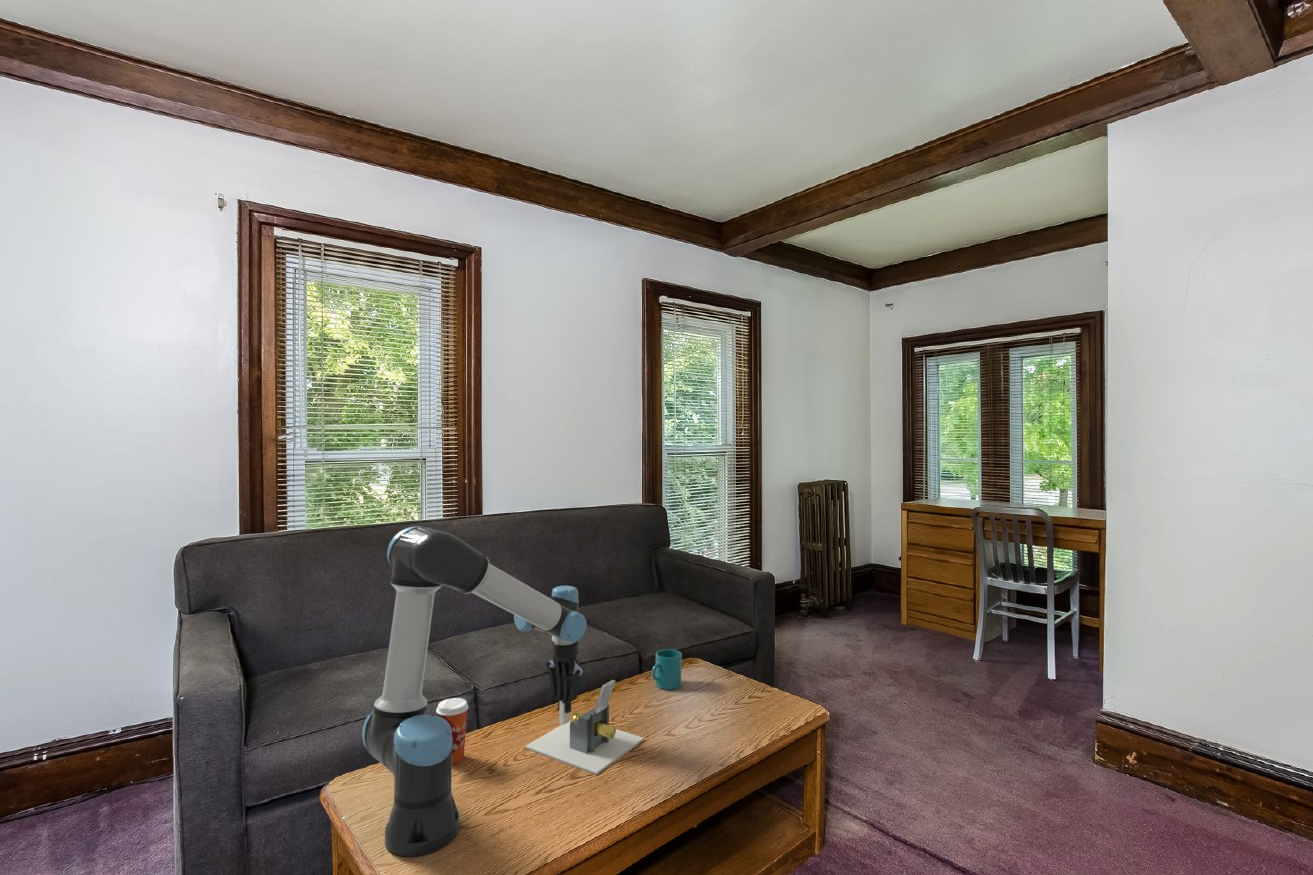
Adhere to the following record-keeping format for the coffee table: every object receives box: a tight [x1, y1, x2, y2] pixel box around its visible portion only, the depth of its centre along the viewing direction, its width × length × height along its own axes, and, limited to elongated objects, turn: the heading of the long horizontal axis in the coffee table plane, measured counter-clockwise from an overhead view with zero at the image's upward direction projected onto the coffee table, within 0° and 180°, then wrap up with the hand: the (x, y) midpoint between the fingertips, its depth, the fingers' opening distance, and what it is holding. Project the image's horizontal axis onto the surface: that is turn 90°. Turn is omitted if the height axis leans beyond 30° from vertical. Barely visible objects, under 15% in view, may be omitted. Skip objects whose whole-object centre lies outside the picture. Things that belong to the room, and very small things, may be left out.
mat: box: [524, 719, 645, 776], centre depth 172 cm, size 22×25×1 cm
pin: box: [570, 710, 617, 739], centre depth 171 cm, size 13×5×5 cm, turn 57°
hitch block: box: [570, 704, 610, 754], centre depth 171 cm, size 7×10×10 cm
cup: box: [651, 648, 683, 691], centre depth 213 cm, size 9×12×11 cm
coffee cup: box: [435, 697, 469, 766], centre depth 164 cm, size 8×8×15 cm
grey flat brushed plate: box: [594, 679, 616, 714], centre depth 169 cm, size 1×5×8 cm, turn 147°
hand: (564, 722), depth 177 cm, fingers closed
